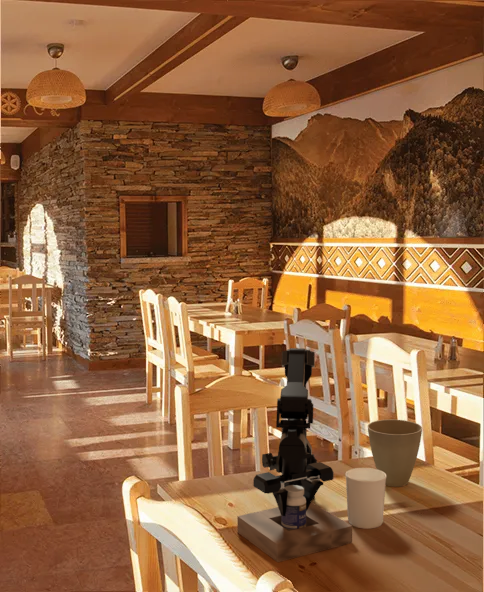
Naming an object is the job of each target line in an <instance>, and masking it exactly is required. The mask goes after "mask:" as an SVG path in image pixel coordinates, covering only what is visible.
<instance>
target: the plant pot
mask: <svg viewBox="0 0 484 592" xmlns="http://www.w3.org/2000/svg"><path fill="white" fill-rule="evenodd" d="M367 433H368V439H369V444H370V450H371V455H372V458H373V461H374V465H375V469H377V470H380V471H383V472H384V473H385V474H386V476H387V477H386V486H389V487H395V488H396V487H398V488H399V487H404V486H407V485H408V484H409V481H410V479H411V477H412V474H413V471H414V468H415V465H416V462H417V458H418V454H419V451H420V445H421V439H422V433H423V426H422V425H421V424H419V423H417V422H414V421H410V420H405V419H404V420H403V419H380V420H379V419H378V420H374V421H372V422H369V423H368V424H367Z"/></svg>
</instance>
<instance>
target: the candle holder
mask: <svg viewBox="0 0 484 592" xmlns="http://www.w3.org/2000/svg"><path fill="white" fill-rule="evenodd" d="M386 477H387V476H386V474H385V473H384V472H383V471H380V470H377V469H376V468H372V467H354V468H351V469H348V470H346V471H345V484H346V485H345V486H346V487H345V488H346V489H345V490H346V504H347V505H346V506H347V509H346V510H347V521H348V524H350V525H352V527H355V528H360V529H368V530H369V529H376V528H379V527H381V526H382V525H383V521H384V511H385V497H386V486H387V485H386Z"/></svg>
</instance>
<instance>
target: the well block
mask: <svg viewBox="0 0 484 592" xmlns="http://www.w3.org/2000/svg"><path fill="white" fill-rule="evenodd" d="M236 519H237V533H238V534H239V535H241V536H242V538H245V539H246V540H247V541H249V542H250V543H251V544H252V545H253V546H256V547H257V548H258V549H260V550H261V551H262V552H263V553H265V554H266V555H267V556H268V557H270V558H272V559H273V560H274V561H275V562H277V563H280V562H284V561H287V560H292V559H294V558H300V557H303V556H307V555H310V554H315V553H317V552H321V551H325V550H329V549H334V548H337V547H341V546H344V545H348V544H353V525H351V524H350V523H349V522H347V521H345V520H344V519H341V518H340V517H338V516H336V515H334V514H333V513H331V512H330V511H328V510H326V509H324V508H322V507H321V506H319V505H317V504H315V503H313V501H311V503H310V505H309V507H308V509H307V511H306V527H303V528H299V529H295V530H291V531H288V530H286V529H285V528H283V527H282V515H281V513H280V511H279V508H278V506H277V507H273V508H268V509H267V508H266V509H264V510H259V511H255V512H250V513H245V514H240V515H238V516H237V518H236Z"/></svg>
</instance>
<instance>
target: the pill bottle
mask: <svg viewBox="0 0 484 592" xmlns="http://www.w3.org/2000/svg"><path fill="white" fill-rule="evenodd" d="M284 489H285V490H287V491H288V495H287V505H286V513H285V516H282V527H283V528H285V529H286V530H288V531H291V530H295V529H299V528H303V527H306V499H305V497H304V496H303V495H304V488H303V487H302V486H298V485H289V486H286V487H284Z"/></svg>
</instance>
